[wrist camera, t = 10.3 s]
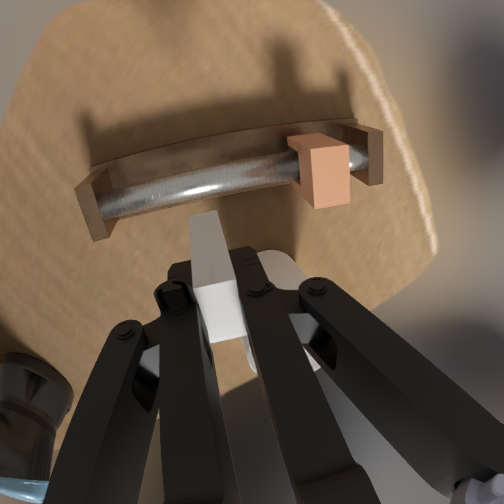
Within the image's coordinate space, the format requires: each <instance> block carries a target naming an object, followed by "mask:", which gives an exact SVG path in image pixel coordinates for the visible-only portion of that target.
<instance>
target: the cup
mask: <svg viewBox="0 0 504 504" xmlns="http://www.w3.org/2000/svg"><path fill="white" fill-rule="evenodd" d="M257 255H258V257H259V259H260V261H261V264H262V266H263V268H264V270H265V273H266V275H267V277H268V279H269V281H270V282H272V283H273V284H274V285H275V287H277V288H279V289H284V290H298V289H299V285H300V284H301V283H302V282H303V281H305V280H306V279H309V277H308V276H307V275H306V274H305V273H304V272H303V271H302V269H301V268H300V267H299V266H298V265H297V264H296V263H295V262H294V261H293V260H292V258H291V257H290V256H289V255H287V254H286V253H284V252H281V251H278V250H265V251H261V252H259V253H257ZM241 340H242V343H243V346H244V349H245V352H246V355H247V359H248V362H249V365H250V367H251V368H252V369H253V371H255V372H256V373H257V369H256V366H255V362H254V359H253V357H252V353H251V349H250V344H249V340H248V335H245V336H241ZM302 346H303V345H302ZM303 348H304V347H303ZM304 350H305V348H304ZM305 352H306V355H307V357H308V359H309V361H310V364H311V366H312V368H313V370H314V371H316V370H317V369H319V368H321V367H320V365H319V364H318V363H317V362H316V361H315V360H314V359H313V358H312V356H311V355H310V354H309V353H308V352H307V351H306V350H305ZM257 374H258V373H257Z"/></svg>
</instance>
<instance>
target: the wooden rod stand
mask: <svg viewBox="0 0 504 504" xmlns="http://www.w3.org/2000/svg"><path fill="white" fill-rule="evenodd" d="M313 133H321V134H323V135H326V136H328V137H331V138H333V139H336V140H338V141H341V142H343V143H346V144H348V145H349V163H350V174H351V175H352V176H354V177H355V178H357V179H359V180H360V181H362V182H363V183H365V184H366V185H368V186H371V185H378V184H383V131H381V130H378V129H374V128H371V127H367V126H364V125H360V124H358V122H357V118H343V119H329V120H317V121H307V122H297V123H289V124H281V125H273V126H266V127H259V128H252V129H246V130H240V131H234V132H228V133H223V134H217V135H212V136H207V137H202V138H197V139H192V140H188V141H183V142H179V143H174V144H170V145H166V146H162V147H158V148H154V149H150V150H146V151H142V152H139V153H135V154H131V155H128V156H124V157H121V158H117V159H114V160H111V161H107V162H104V163H101V164H98V165H95V166H92V167H90V168H89V169H90V172H91V174H90V175H89V176H88V177H87V178H85V179H84V180H83V181H82V182H81V183H80V184H79V185H78V186H77V187H76V188H74V189H75V193H76V196H77V199H78V202H79V204H80V207H81V210H82V213H83V216H84V219H85V221H86V224H87V227H88V229H89V232H90V235H91V237H92V240H93V242H94V241H98V240H102V239H106V238H109V237H110V235H111V233H112V231H113V229H114V227H115V225H116V223H117V221H118V220H121V219H125V218H129V217H133V216H137V215H141V214H145V213H149V212H153V211H157V210H162V209H166V208H170V207H175V206H179V205H184V204H188V203H193V202H197V201H202V200H207V199H211V198H216V197H221V196H226V195H231V194H236V193H241V192H246V191H252V190H257V189H263V188H268V187H274V186H279V185H285V184H291V183H292V181H291V180H293V179H299V178H300V169H299V158H298V151H296V150H294V149H293V148H291V147H290V146H288V142H287V137H288V136H296V135H305V134H313Z"/></svg>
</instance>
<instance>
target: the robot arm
mask: <svg viewBox="0 0 504 504" xmlns="http://www.w3.org/2000/svg"><path fill="white" fill-rule="evenodd" d="M189 230H190V250H191V260H188V261H184V262H179V263H175V264H172V266H171V267H170V269H169V270H168V279H167V281H165V282H164V283H162V284H160V285H159V286H158V287H157V288H156V289H155V291H154V297H155V299H156V302H157V304H158V306H159V309H160V311H161V316H160V317H159V318H157V319H156V320H154V321H152V322H150V323H148V324H146V325H143V326H142V324H141V323H140V322H139V321H137V320H126V321H123V322H121V323H119V324H117V325H116V326H115V327H114V328H113V329H112V330H111V332H110V334H109V336H108V338H107V340H106V342H105V344H104V346H103V348H102V350H101V352H100V355H99V357H98V359H97V361H96V363H95V365H94V368H93V370H92V372H91V374H90V376H89V379H88V381H87V383H86V386H85V388H84V390H83V392H82V395H81V397H80V400H79V402H78V404H77V407H76V409H75V412H74V414H73V417H72V419H71V422H70V424H69V427H68V429H67V432H66V435H65V437H64V440H63V443H62V445H61V448H60V451H59V454H58V457H57V460H56V463H55V465H54V468H53V471H52V474H51V477H50V469H51V463H52V455H53V449H54V443H55V437H56V432H57V429H58V428H59V426H60V425H61V423H62V421H63V419H64V417H65V415H66V414H67V413H68V412H69V411H70V409H71V407H72V403H73V398H74V394H73V390H72V388H71V386H70V385H69V383H68V382H67V381H66V380H65V379H64V378H63V377H62V376H61V375H60V374H59V373H58V372H57V371H55V370H54V369H52V368H51V367H50V366H48V365H46V364H45V363H43V362H41V361H39V360H37V359H35V358H32V357H30V356H27V355H23V354H17V353H11V354H7V355H5V356H3V357H2V359H1V361H0V493H2V494H4V495H7V496H10V497H13V498H16V499H19V500H23V501H27V502H31V503H43V504H137V502H138V497H139V492H140V488H141V483H142V478H143V474H144V469H145V464H146V460H147V456H148V451H149V447H150V443H151V439H152V434H153V430H154V426H155V422H156V418H157V414H158V410H159V415H160V442H161V459H162V473H163V484H164V498H165V500H164V504H242V502H241V497H240V493H239V489H238V484H237V481H236V475H235V471H234V466H233V462H232V457H231V452H230V447H229V442H228V437H227V432H226V427H225V421H224V416H223V411H222V405H221V400H220V394H219V388H218V382H217V376H216V370H215V364H214V358H213V352H212V350H211V347H210V343H214V342H219V341H223V340H228V339H232V338H237V337H241V336H245V335H248V340H249V344H250V349H251V353H252V357H253V359H254V362H255V366H256V369H257V373H258V376H259V380H260V383H261V387H262V390H263V394H264V397H265V401H266V404H267V408H268V411H269V414H270V418H271V421H272V425H273V428H274V431H275V435H276V438H277V441H278V444H279V448H280V451H281V454H282V457H283V461H284V464H285V467H286V470H287V473H288V477H289V480H290V483H291V486H292V489H293V493H294V495H295V499H296V502H297V504H381V503H380V501H379V498H378V496H377V494H376V492H375V490H374V487H373V485H372V483H371V481H370V479H369V477H368V475H367V473H366V471H365V470H364V468H363V467H362V466H361V465H359V464H358V463H356V462H355V461H354V459H353V457H352V455H351V453H350V451H349V449H348V446H347V444H346V442H345V439H344V437H343V435H342V433H341V430H340V428H339V426H338V424H337V422H336V419H335V417H334V415H333V413H332V411H331V408H330V406H329V404H328V402H327V399H326V397H325V395H324V393H323V390H322V388H321V386H320V384H319V381H318V379H317V377H316V375H315V373H314V370H313V368H312V366H311V364H310V361H309V359H308V357H307V355H306V352H305V350H306V351H307V352H308V353H309V354H310V355H311V356H312V358H313V359H314V360H315V361H316V362H317V363H318V364H319V365H320V367H321V368H322V369H323V370H324V371H325V372H326V373H327V374H328V376H329V377H330V378H331V379H332V380H333V381H334V382H335V384H336V385H337V386H338V387H339V388H340V389H341V390H342V391H343V392H344V394H345V395H346V396H347V397H348V398H349V399H350V400H351V401H352V402H353V404H354V405H355V406H356V407H357V408H358V409H359V410H360V411H361V413H362V414H363V415H364V416H365V417H366V418H367V419H368V420H369V421H370V422H371V424H372V425H373V426H374V427H375V428H376V429H377V430H378V431H379V432H380V433H381V434H382V436H383V437H384V438H385V439H386V440H387V441H388V442H389V443H390V444H391V445H392V446H393V448H394V449H395V450H396V451H397V452H398V453H399V454H400V455H401V456H402V457H403V458H404V459H405V460H406V461H407V463H409V465H410V466H411V467H412V468H413V469H414V470H415V471H416V472H417V473H418V474H419V475H420V476H421V477H422V478H423V479H424V480H425V481H426V482H427V483H428V484H429V485H430V486H431V487H432V488H434V489H435V490H437V491H438V492H440V493H441V494H443V495H444V496H446V497H449V498H451V501H450V504H504V424H502V423H500V422H499V421H498V420H497V419H496V418H495V417H493V416H492V415H491V414H490V413H489V412H488V411H487V410H486V409H484V408H483V407H482V406H481V405H480V404H479V403H478V402H477V401H475V400H474V399H473V398H472V397H471V396H470V395H468V394H467V393H466V392H465V391H464V390H463V389H462V388H460V387H459V386H458V385H457V384H456V383H454V382H453V381H452V380H451V379H450V378H449V377H448V376H447V375H445V374H444V373H443V372H442V371H441V370H440V369H438V368H437V367H436V366H434V364H433V363H431V362H430V361H429V360H428V359H426V358H425V357H424V356H423V355H422V354H421V353H419V352H418V351H417V350H416V349H414V348H413V347H412V346H411V345H410V344H409V343H408V342H406V341H405V340H404V339H403V338H401V337H400V336H399V335H398V334H396V333H395V332H394V331H393V330H392V329H391V328H389V327H388V326H387V325H386V324H385V323H383V322H382V321H381V320H380V319H378V318H377V317H376V316H375V315H373V314H372V313H371V312H370V311H369V310H367V309H366V308H365V307H364V306H362V305H361V304H360V303H359V302H357V301H356V300H355V299H354V298H352V297H351V296H350V295H349V294H348V293H346V292H345V291H344V290H343V289H341V288H340V287H339V286H337V285H336V284H335V283H334V282H332V281H331V280H329V279H327V278H322V277H313V278H309V279H306V280H305V281H303V282H302V283H301V284H300V285H299V289H298V290H284V289H279V288H277V287H275V285H274V284H273V283H272V282H270V281H269V279H268V277H267V275H266V273H265V270H264V268H263V266H262V264H261V261H260V259H259V257H258V255H257V252H256V250H254V249H253V248H251V247H249V246H247V247H242V248H238V249H233V250H229V251H228V249H227V245H226V242H225V238H224V234H223V231H222V227H221V224H220V220H219V216H218V213H217V210H213V211H209V212H204V213H200V214H195V215H191V216H189ZM209 340H210V343H209ZM302 345H303V346H302ZM303 347H304V348H305V350H304V348H303ZM49 479H50V481H49Z"/></svg>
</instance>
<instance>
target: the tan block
mask: <svg viewBox="0 0 504 504" xmlns="http://www.w3.org/2000/svg"><path fill="white" fill-rule="evenodd" d="M287 142H288V146H290V147H291V148H293V149H294V150H296V151H298V158H299V169H300V178H299V179H293V180H291V181H292V186H293V187H294V188H295V189H296V190H297V191H298V193H299V194H300V195H301V196H302V197H303V198H304V199H305V200H306V201H307V202H308V203H309V204H310V205H311V206H312V207H313V208H314V209H319V208H324V207H330V206H335V205H341V204H347V203H350V163H349V145H348V144H346V143H343V142H341V141H338V140H336V139H333V138H331V137H328V136H326V135H323V134H321V133H313V134H305V135H296V136H288V137H287Z"/></svg>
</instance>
